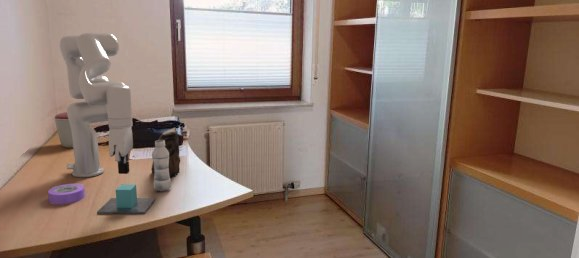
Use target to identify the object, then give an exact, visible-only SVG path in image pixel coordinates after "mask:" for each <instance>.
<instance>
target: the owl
mask: <svg viewBox="0 0 579 258" xmlns="http://www.w3.org/2000/svg"><path fill="white" fill-rule="evenodd" d="M179 137H180V136H179V134H178V132H177V128H176V127H173V128H171V129H167V130H166V131H164V132H163V133H162V134H161V135H160V136H159V138H158V140H164V141H165V148H166V149H167V150H168V152H169V167H168V168H169V176H170V179H172V178H173V179H174V178H175V177H177V175H178V174H180V173H181V172H180V168H181V167H180V164H181V157H180V145H179ZM151 174H152V175H154V176H155V170H154V163H153V162H152V165H151Z"/></svg>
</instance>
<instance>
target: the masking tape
mask: <svg viewBox="0 0 579 258" xmlns="http://www.w3.org/2000/svg"><path fill="white" fill-rule="evenodd" d="M85 191H86V190H85V185H83V184H80V183H66V184H65V183H64V184H61V185H57V186H54V187H51V188H50V189H48V191H47V193H48V202H49V203H50V204H52V203H53V205H67V204H72V203H76V202H78V201H81V200H83V199H84V198H85V196H86V193H85Z"/></svg>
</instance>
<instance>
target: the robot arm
mask: <svg viewBox="0 0 579 258" xmlns="http://www.w3.org/2000/svg"><path fill="white" fill-rule="evenodd" d="M59 50H60V53H61V57H62V58H63V60H64V61H65V64H66V71H67V81H68V91H69V94H70V96H71V98H73V99H75V100H84V101H77V102H74V103H73V102H72V103H71V104H69V105H68V107H67V108H66V112H67V115H68V119H69V122H70V126H71V132H72V140H73V148H72V149H73V157H74V163H67V164H66V169H67V170H72V172H71V175H72V177H75V178H92V177H96V176H100V175H102V174H103V173H104V172H105V169H104V167H103V166H100V165H101V164H100V154H99V153H100V151H99V144H98V135H97V134H98V133H97V131H96V130H95V129H94V128H93V127H92V126H90V125H91V124H95V123H104V122H108V128H109V132H108V154H109V155H108V156H110V157H113V156H114V161H115V162H116V163H117V170H118V174H119V175H120V174H121V175H128V174H129V173H130V153H131V152H132V151H133V149H134V140H133V139H134V138H133V130H132V127H133V111H132V109H133V108H132V107H133V106H132V94H131V93H132V92H131V88H130V87H129V85H126V84H125V83H124V82H122V81H110V80H109V79H108V77H107V76H104V75H103V74H105V73H107V72H108V71H109V70H110V68H111V64H112V63H111V59H110V57H115V56H117V55H118V53H119V51H120V44H119V41H118V39H117V38H116V36H115V35H114V34H112V33H107V32H85V33H81V34H79V35H73V34H71V35H66V36H63V37H61V38H60V39H59ZM89 124H90V125H89Z"/></svg>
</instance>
